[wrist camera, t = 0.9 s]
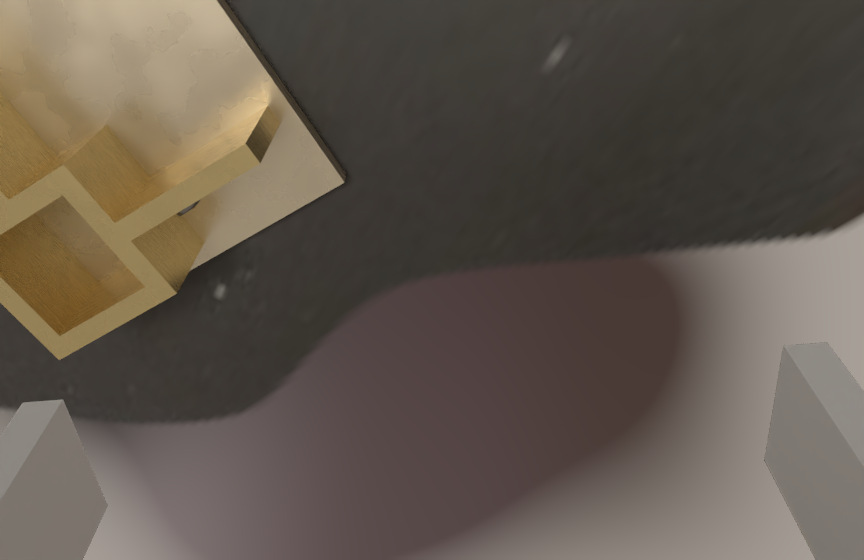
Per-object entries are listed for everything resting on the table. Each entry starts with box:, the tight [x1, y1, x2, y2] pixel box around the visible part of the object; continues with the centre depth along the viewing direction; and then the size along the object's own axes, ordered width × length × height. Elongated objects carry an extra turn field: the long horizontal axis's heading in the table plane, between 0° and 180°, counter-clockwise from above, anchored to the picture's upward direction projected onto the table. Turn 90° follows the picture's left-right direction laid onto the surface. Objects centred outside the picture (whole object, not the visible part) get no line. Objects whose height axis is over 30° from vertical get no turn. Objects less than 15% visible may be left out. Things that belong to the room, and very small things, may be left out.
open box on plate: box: [0, 0, 347, 360], centre depth 35 cm, size 16×16×6 cm
